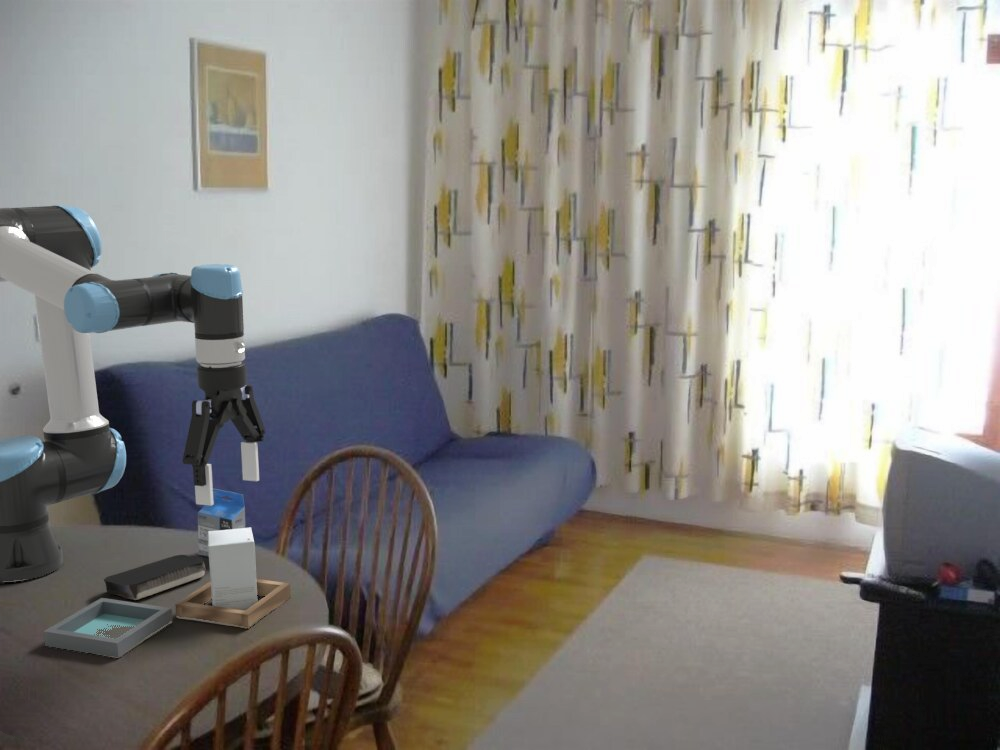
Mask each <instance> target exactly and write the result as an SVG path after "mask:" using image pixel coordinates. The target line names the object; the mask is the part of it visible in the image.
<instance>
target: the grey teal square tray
mask: <svg viewBox="0 0 1000 750" xmlns="http://www.w3.org/2000/svg"><path fill="white" fill-rule="evenodd" d="M170 621H172V622H173V612H172V607H166V606H160V605H153V604H145V603H138V602H132V601H127V600H126V601H125V600H121V599H120V600H119V599H113V598H107V597H106V598H105V597H100V598H99V599H97V600H95V601H93V602H91V603H90V604H88V605H87V606H85V607H83V608H81V609H80V610H78V611H76V612H74V613H73V614H71V615H70V616H67V617H66V618H63V619H62V620H61V621H59V622H57V623H56V624H54V625H52V626H50V627H47V629H45V630H44V631H43V638H44V647H45V646H49V647H48V648H51V647H56V648H55V649H57V648H62V649H61V650H63V649H67V650H66V651H69V650H74V651H73V652H75V651H80V652H79V653H81V652H88V653H92V654H100V655H106V656H114V657H119V656H121V655H122V654H123V653H124V652H126V651H127V650H128V649H130V648H131V647H133V646H134V645H136V644H137V643H138V642H140V641H141V640H143V639H144V638H145V637H147V636H148V635H150V634H151V633H153V632H155V631H157V630H158V629H160V628H161V627H163V626H164V625H166V624H168V623H169V622H170ZM136 622H137V623H138V622H139V623H140V622H141V623H140V624H138V625H137V624H136V625H137V626H136V625H135V623H136ZM107 624H108V625H107ZM111 625H112V626H113V625H114V626H115V625H116V627H117V625H118V627H119V625H120V627H121V626H122V627H123V626H124V627H125V626H126V627H127V626H128V627H129V626H130V627H131V626H132V627H133V626H134V628H132V629H130V630H129V631H127V632H126V633H124V634H123V635H121V636H120V637H118V638H116V639H114V638H110V637H109V638H108V637H105V636H106V635H105V636H104V635H103V634H102V633H103V631H102V633H101V634H99V636H97V635H98V634H97V633H98V632H99V631H98V630H99V629H100V630H101V629H102V630H103V629H104V628H105V629H106V628H107V629H106V631H107V630H108V629H109V630H110V629H111V630H112V626H111ZM108 626H109V627H108ZM110 626H111V627H110ZM114 626H113V628H114ZM116 627H115V628H116ZM118 627H117V628H118ZM120 627H119V628H120ZM97 629H98V630H97ZM105 629H104V631H105ZM109 630H108V631H109ZM97 631H98V632H97ZM96 632H97V633H96ZM100 632H101V631H100ZM104 633H105V632H104ZM94 634H95V635H94ZM96 634H97V635H96ZM100 635H101V636H100ZM102 635H103V636H102ZM107 636H108V635H107ZM109 636H110V635H109ZM92 654H91V655H92Z"/></svg>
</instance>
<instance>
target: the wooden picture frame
mask: <svg viewBox="0 0 1000 750" xmlns="http://www.w3.org/2000/svg"><path fill="white" fill-rule="evenodd" d="M256 581H257V595H258V596H257V597H262V596H265V597H262V598H261V599H259V600H258V602H257V603H255V604H254V605H253V606H251V607H250V608H248V609H247V610H246V611H244V610H237V609H230V608H223V607H216V606H212V605H208V604H205V605H203V603H205V602H207V601H208V600H210V599H212V594H211V580H210V581H208V582H207V583H206V584H204V585H202V586H201V587H200V588H198V589H196V590H194V591H193V592H192V593H190V594H188V595H186V597H184V598H181V600H179V601H178V602H176V603H175V606H174V607H175V617H176V616H179V617H187V618H188V617H189V618H196V619H203V620H209V621H215V622H222V623H228V624H234V625H238V626H244V627H249V626H251V625H252V624H253V623H254V622H256V621H257V620H258V619H260V618H261V617H263V616H264V615H266V614H267V613H269V612H270V611H272V610H274V609H275V608H276V609H278V608H279V607H280V606H282V604H284V603H286V601H288V600H289V599H290V598H292V597H291V596H292V595H291V594H292V593H291V583H289V582H282V581H276V580H275V581H274V580H270V579H269V580H267V579H259V578H256ZM278 606H279V607H278ZM276 609H275V610H276ZM275 610H274V611H275ZM272 612H273V611H272Z"/></svg>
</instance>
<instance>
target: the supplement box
mask: <svg viewBox="0 0 1000 750" xmlns="http://www.w3.org/2000/svg"><path fill="white" fill-rule="evenodd" d="M252 530H253V529H252V527H251V526H250V527H245V528H239V529H229V530H218V531H208V553H209V557H208V563H209V577H210V579H209V580H210V581H211V594H212V600H211V603H212V605H211V606H216V607H223V608H230V609H237V610H244V611H246V610H247V609H248V608H250V607H251V606H253V605H254V604H255V603H257V602H258V601H259V600H258V596H257V581H256V579H257V567H256V566H257V565H256V563H257V562H256V545H255V540H254V535H253V531H252Z"/></svg>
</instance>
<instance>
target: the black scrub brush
mask: <svg viewBox="0 0 1000 750" xmlns="http://www.w3.org/2000/svg"><path fill="white" fill-rule="evenodd" d="M206 571H207V569H206V565H205V560H204V559H203V557H200V556H195V555H194V556H193V555H187V554H179V555H173V556H170V557H166V558H164V559H163V558H162V559H160V560H158V561H157V560H156V561H154V562H151V563H146V564H145V565H144V564H143V565H141V566H138V567H135V568H134V567H133V568H132V569H128V570H126V571H125V570H124V571H122V572H118V573H116V574H112V575H109V576H106V577H105V578H104V579H103V581H104V583H105V588H106V592H107V593H108V594H110V595H114V596H115V595H116V596H120V597H122V598H123V599H126V600H127V599H128V600H133V601H136V600H137V601H138V600H140V599H144V598H146V597H148V596H149V597H150V596H153V595H154V594H159V593H161V592H164V591H167V590H169V589H172V588H174V587H178V586H180V585H184V584H186V583H189V582H192V581H194V580H197V579H201V578H202V577H204V575H205V574H206Z"/></svg>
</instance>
